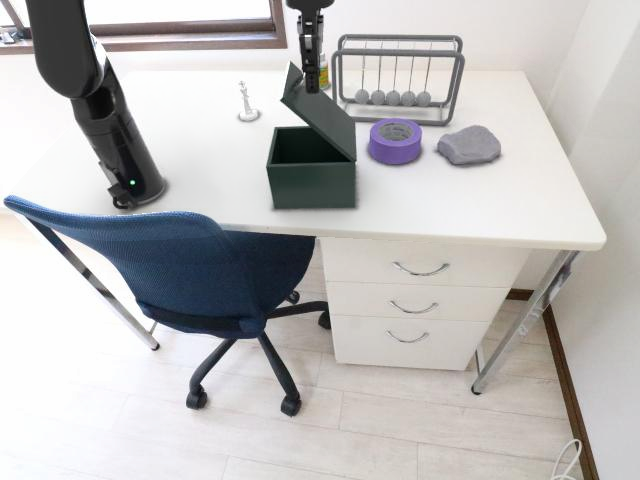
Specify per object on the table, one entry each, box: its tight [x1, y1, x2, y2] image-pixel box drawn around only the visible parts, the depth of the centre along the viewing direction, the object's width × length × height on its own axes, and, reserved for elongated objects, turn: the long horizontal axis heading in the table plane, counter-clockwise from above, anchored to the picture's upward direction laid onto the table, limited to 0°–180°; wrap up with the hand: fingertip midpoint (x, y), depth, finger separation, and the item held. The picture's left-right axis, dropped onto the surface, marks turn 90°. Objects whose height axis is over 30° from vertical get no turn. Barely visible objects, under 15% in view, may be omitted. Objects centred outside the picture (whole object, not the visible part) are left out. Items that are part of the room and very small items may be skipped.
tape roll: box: [368, 117, 423, 165], centre depth 86 cm, size 12×12×5 cm
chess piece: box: [238, 79, 259, 122], centre depth 99 cm, size 5×5×10 cm
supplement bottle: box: [319, 49, 330, 91], centre depth 108 cm, size 5×5×10 cm
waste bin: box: [265, 125, 356, 210], centre depth 77 cm, size 17×14×11 cm
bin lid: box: [279, 60, 358, 164], centre depth 67 cm, size 17×14×5 cm
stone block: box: [436, 124, 502, 165], centre depth 85 cm, size 12×5×10 cm
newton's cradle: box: [330, 33, 466, 126], centre depth 93 cm, size 30×10×18 cm, turn 79°
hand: (313, 84), depth 64 cm, fingers closed on bin lid, 5 cm apart
